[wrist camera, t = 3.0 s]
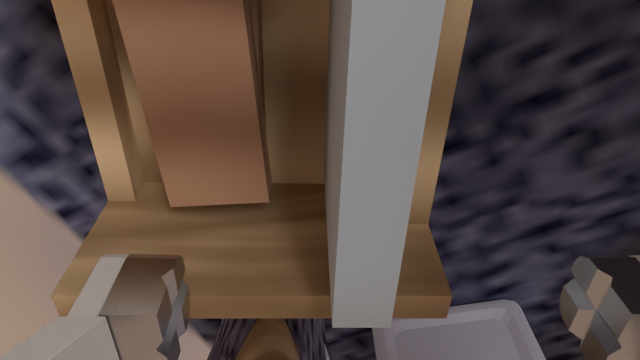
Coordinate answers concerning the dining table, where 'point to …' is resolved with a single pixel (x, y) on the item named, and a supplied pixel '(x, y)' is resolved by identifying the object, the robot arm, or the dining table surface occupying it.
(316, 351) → the beer glass
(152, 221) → the tray
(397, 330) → the soap bottle
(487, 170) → the dining table surface
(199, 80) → the offcut
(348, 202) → the grey block
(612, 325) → the robot arm
